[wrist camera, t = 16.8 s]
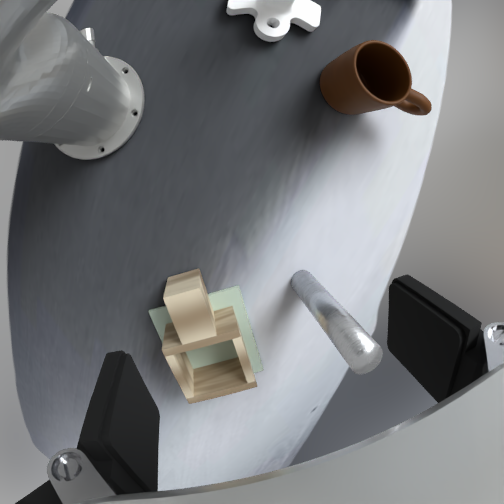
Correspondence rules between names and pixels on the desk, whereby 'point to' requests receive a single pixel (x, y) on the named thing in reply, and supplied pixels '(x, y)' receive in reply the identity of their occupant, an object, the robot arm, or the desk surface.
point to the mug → (371, 81)
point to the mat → (221, 349)
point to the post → (338, 324)
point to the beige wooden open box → (202, 340)
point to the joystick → (277, 15)
